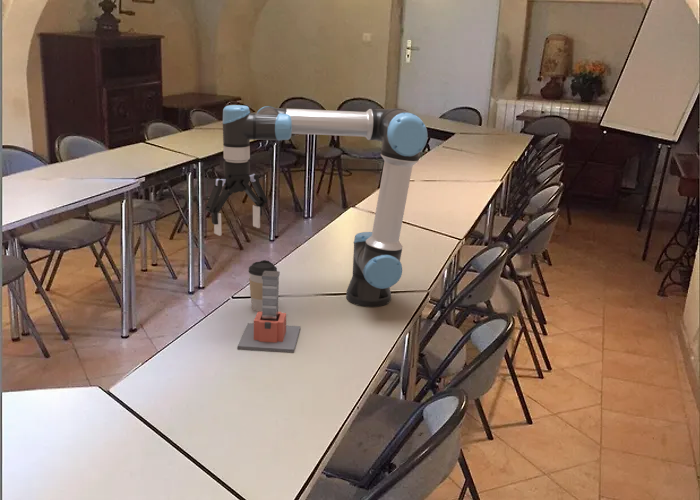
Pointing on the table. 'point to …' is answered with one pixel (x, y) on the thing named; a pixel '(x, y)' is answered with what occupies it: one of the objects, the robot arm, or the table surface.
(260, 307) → the coffee cup
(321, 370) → the table surface
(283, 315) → the stand
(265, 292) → the column
